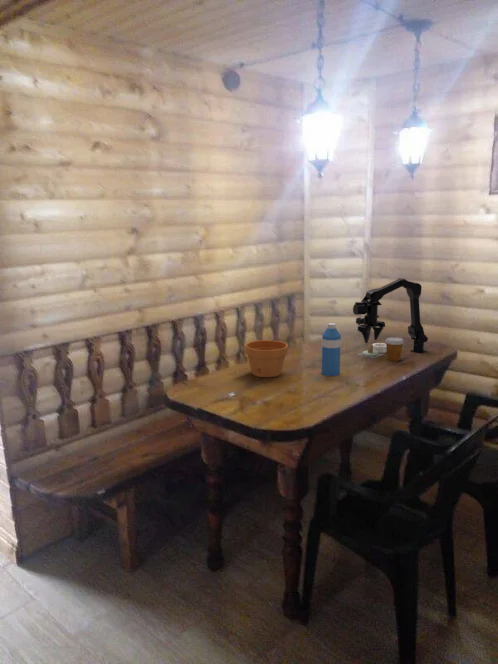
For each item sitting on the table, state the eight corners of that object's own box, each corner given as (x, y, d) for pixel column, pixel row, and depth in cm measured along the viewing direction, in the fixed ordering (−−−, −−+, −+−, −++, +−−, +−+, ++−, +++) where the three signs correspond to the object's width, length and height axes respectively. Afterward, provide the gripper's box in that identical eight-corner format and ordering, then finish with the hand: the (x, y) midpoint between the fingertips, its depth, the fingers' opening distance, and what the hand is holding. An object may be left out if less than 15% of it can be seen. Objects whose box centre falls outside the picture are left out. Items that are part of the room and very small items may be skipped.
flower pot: (253, 365, 291) (253, 338, 288) (292, 369, 284) (292, 341, 281) (239, 377, 272) (238, 348, 268) (280, 381, 265) (280, 351, 261)
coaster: (367, 352, 315) (367, 350, 315) (384, 355, 308) (384, 354, 308) (356, 355, 308) (356, 354, 308) (373, 359, 300) (373, 358, 300)
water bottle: (342, 371, 279) (343, 322, 274) (337, 376, 271) (338, 326, 266) (324, 369, 283) (325, 321, 278) (318, 374, 275) (319, 325, 269)
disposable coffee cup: (401, 358, 302) (402, 337, 299) (404, 363, 293) (405, 341, 290) (383, 358, 303) (384, 336, 300) (385, 363, 294) (386, 341, 291)
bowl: (377, 348, 322) (377, 342, 321) (391, 351, 316) (392, 344, 315) (368, 351, 316) (369, 345, 315) (382, 354, 310) (383, 347, 309)
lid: (368, 351, 313) (368, 342, 312) (380, 354, 308) (380, 345, 307) (360, 354, 308) (360, 345, 306) (372, 357, 302) (373, 347, 301)
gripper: (368, 309, 315) (367, 336, 318) (349, 314, 302) (348, 342, 305) (386, 311, 307) (385, 339, 310) (367, 316, 294) (366, 345, 298)
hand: (370, 341), depth 306 cm, fingers open, 9 cm apart
